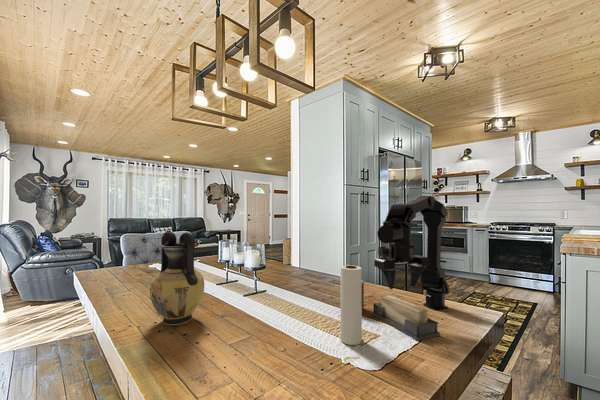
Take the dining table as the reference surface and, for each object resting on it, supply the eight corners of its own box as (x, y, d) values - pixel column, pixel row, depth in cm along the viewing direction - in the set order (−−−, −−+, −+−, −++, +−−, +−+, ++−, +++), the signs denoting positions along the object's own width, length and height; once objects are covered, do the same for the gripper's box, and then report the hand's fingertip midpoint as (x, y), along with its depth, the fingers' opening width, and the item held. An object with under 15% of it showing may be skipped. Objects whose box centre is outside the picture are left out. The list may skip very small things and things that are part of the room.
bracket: (391, 311, 106) (391, 300, 106) (440, 336, 85) (439, 322, 85) (371, 314, 103) (371, 303, 103) (416, 340, 82) (416, 327, 82)
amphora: (136, 326, 91) (138, 232, 92) (175, 308, 107) (177, 229, 108) (179, 335, 85) (181, 234, 86) (214, 315, 101) (216, 230, 101)
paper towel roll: (357, 348, 78) (357, 269, 78) (337, 342, 81) (337, 267, 81) (365, 337, 84) (365, 265, 84) (346, 333, 87) (347, 263, 88)
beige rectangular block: (389, 312, 102) (389, 295, 102) (427, 329, 88) (427, 309, 88) (381, 314, 100) (381, 296, 100) (418, 331, 86) (418, 311, 86)
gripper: (406, 237, 106) (407, 279, 106) (364, 239, 99) (364, 284, 99) (430, 241, 96) (430, 287, 95) (385, 243, 89) (385, 293, 88)
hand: (402, 287), depth 95 cm, fingers open, 9 cm apart
